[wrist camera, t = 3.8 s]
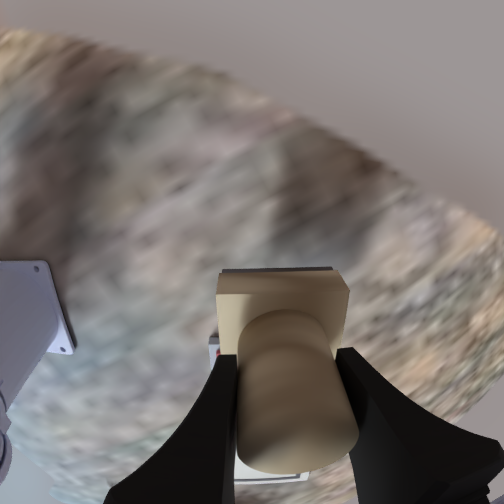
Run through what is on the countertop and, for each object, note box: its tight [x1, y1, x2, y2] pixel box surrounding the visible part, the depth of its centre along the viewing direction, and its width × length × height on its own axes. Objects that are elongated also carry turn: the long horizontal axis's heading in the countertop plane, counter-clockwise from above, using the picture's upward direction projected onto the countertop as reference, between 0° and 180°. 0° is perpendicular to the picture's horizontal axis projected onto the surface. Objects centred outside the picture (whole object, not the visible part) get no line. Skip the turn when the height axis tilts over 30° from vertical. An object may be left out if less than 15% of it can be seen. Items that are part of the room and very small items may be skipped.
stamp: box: [216, 267, 359, 475], centre depth 11 cm, size 5×5×7 cm
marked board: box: [234, 445, 309, 484], centre depth 27 cm, size 12×12×1 cm
